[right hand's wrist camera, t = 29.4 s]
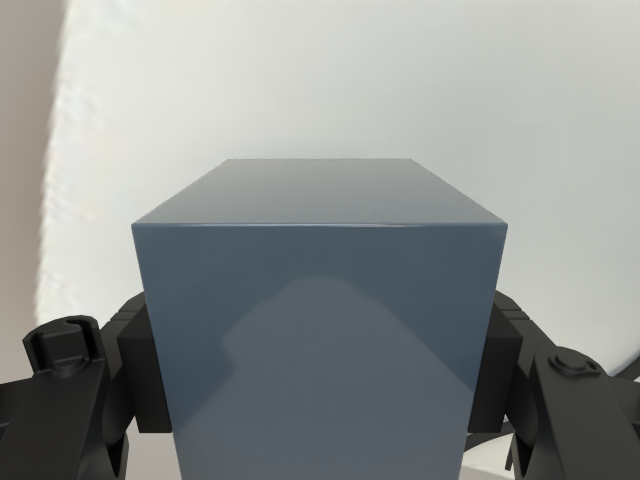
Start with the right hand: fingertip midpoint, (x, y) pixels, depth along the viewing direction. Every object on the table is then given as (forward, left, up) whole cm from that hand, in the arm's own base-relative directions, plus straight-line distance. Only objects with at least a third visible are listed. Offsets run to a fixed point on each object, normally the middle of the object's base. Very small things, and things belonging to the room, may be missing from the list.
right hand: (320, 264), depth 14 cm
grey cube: (0, 0, -1) cm, 1 cm away
